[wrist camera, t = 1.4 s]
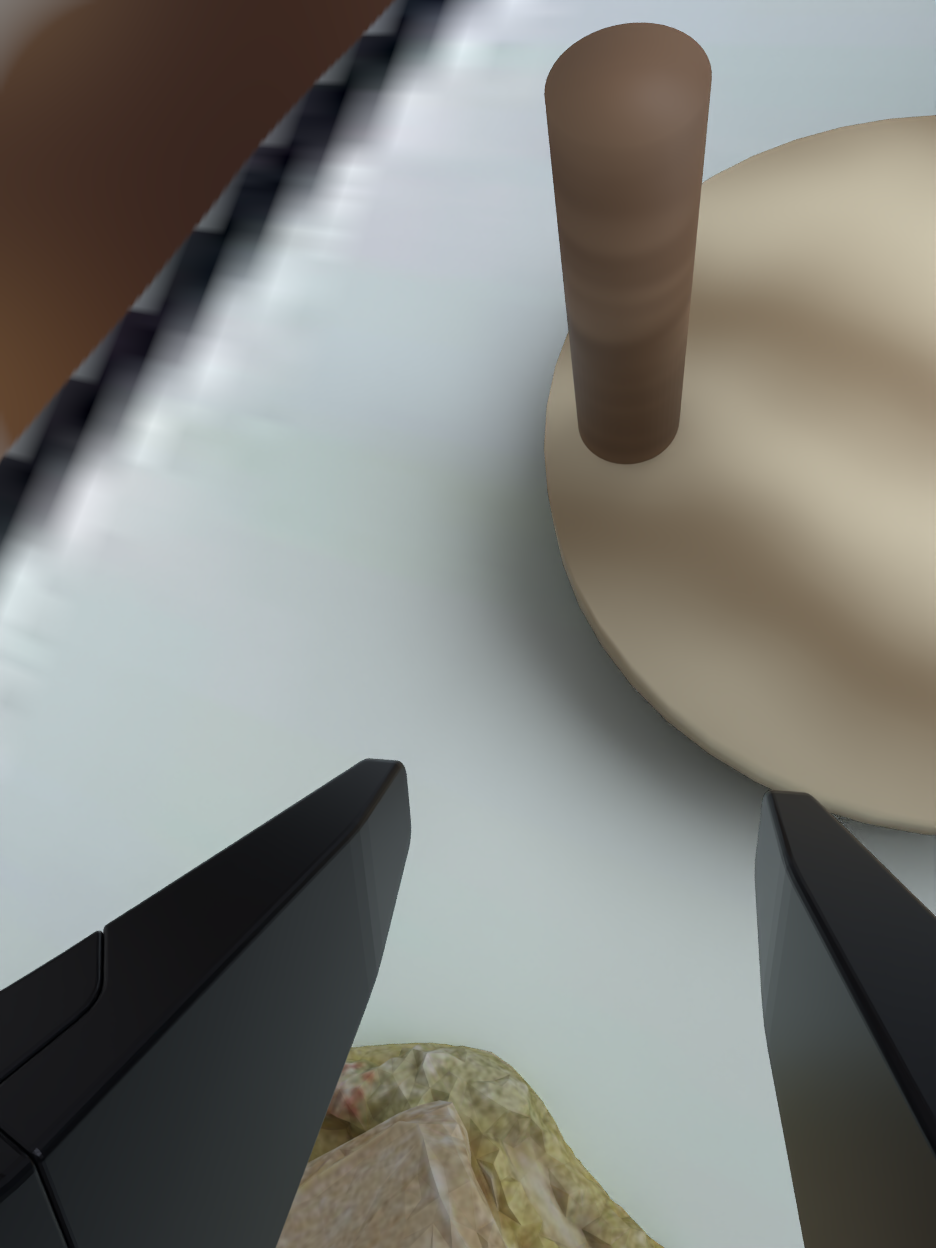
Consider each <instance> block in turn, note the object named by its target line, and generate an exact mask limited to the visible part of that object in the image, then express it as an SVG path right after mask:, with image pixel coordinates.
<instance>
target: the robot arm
mask: <svg viewBox="0 0 936 1248" xmlns="http://www.w3.org/2000/svg"><path fill="white" fill-rule="evenodd" d="M410 838H411V818H410V807H409V796H408V784H407V774H406V770H405V767H404V765H403V764H402V763H401V762H400V761H396V760H383V759H370V758H369V759H364V760H362V761H360V762H359V763H357V764H356V765H354V766H353V767H351V768H350V769H348V770H346V771H345V772H343V773H342V774H340V775H339V776H337V777H336V778H334V779H332V780H331V781H329V782H328V783H326V784H325V785H323V786H322V787H320V788H318V789H317V790H315V791H314V792H312V793H311V794H309V795H308V796H306V797H304V798H303V799H301V800H300V801H298V802H297V803H295V804H294V805H292V806H290V807H289V808H287V809H286V810H284V811H283V812H281V813H280V814H278V815H276V816H275V817H273V818H272V819H270V820H269V821H267V822H266V823H264V824H262V825H261V826H259V827H258V828H256V829H255V830H253V831H252V832H250V833H249V834H247V835H245V836H244V837H242V838H241V839H239V840H238V841H236V842H235V843H233V844H231V845H230V846H228V847H227V848H225V849H224V850H222V851H221V852H219V853H217V854H216V855H214V856H213V857H211V858H210V859H208V860H207V861H205V862H203V863H202V864H200V865H199V866H197V867H196V868H194V869H193V870H191V871H189V872H188V873H186V874H185V875H183V876H182V877H180V878H179V879H177V880H175V881H174V882H172V883H171V884H169V885H168V886H166V887H165V888H163V889H161V890H160V891H158V892H157V893H155V894H154V895H152V896H151V897H149V898H147V899H146V900H144V901H143V902H141V903H140V904H138V905H137V906H135V907H133V908H132V909H130V910H129V911H127V912H126V913H124V914H123V915H121V916H119V917H118V918H116V919H115V920H113V921H112V922H110V923H108V924H107V925H106V926H105V927H104V929H103V933H102V932H101V931H96V932H94V933H93V934H91V935H89V936H88V937H86V938H85V939H83V940H82V941H80V942H79V943H77V944H75V945H74V946H72V947H71V948H69V949H68V950H66V951H65V952H63V953H61V954H60V955H58V956H57V957H55V958H53V959H52V960H50V961H48V962H47V963H45V964H44V965H42V966H40V967H39V968H37V969H35V970H34V971H32V972H31V973H29V974H27V975H26V976H24V977H23V978H21V979H19V980H18V981H16V982H14V983H13V984H11V985H10V986H8V987H6V988H4V989H3V990H1V991H0V1248H276V1246H277V1243H278V1241H279V1238H280V1235H281V1233H282V1230H283V1227H284V1225H285V1222H286V1219H287V1217H288V1214H289V1211H290V1209H291V1206H292V1203H293V1201H294V1198H295V1195H296V1193H297V1190H298V1187H299V1185H300V1182H301V1179H302V1177H303V1174H304V1171H305V1169H306V1166H307V1163H308V1161H309V1158H310V1155H311V1153H312V1150H313V1147H314V1145H315V1142H316V1139H317V1137H318V1134H319V1131H320V1129H321V1126H322V1123H323V1121H324V1118H325V1115H326V1113H327V1110H328V1107H329V1105H330V1102H331V1099H332V1097H333V1094H334V1091H335V1089H336V1086H337V1083H338V1081H339V1078H340V1075H341V1073H342V1070H343V1067H344V1065H345V1062H346V1059H347V1057H348V1054H349V1051H350V1049H351V1046H352V1043H353V1041H354V1038H355V1035H356V1033H357V1030H358V1027H359V1025H360V1022H361V1019H362V1017H363V1014H364V1011H365V1009H366V1006H367V1003H368V1001H369V998H370V995H371V992H372V989H373V987H374V984H375V981H376V978H377V975H378V971H379V967H380V963H381V960H382V956H383V952H384V948H385V944H386V940H387V936H388V932H389V928H390V923H391V919H392V915H393V911H394V907H395V903H396V899H397V895H398V891H399V887H400V883H401V879H402V875H403V870H404V866H405V862H406V858H407V854H408V850H409V845H410ZM755 891H756V908H757V926H758V943H759V961H760V978H761V995H762V1008H763V1018H764V1027H765V1034H766V1040H767V1047H768V1053H769V1058H770V1064H771V1069H772V1074H773V1080H774V1085H775V1091H776V1096H777V1101H778V1107H779V1112H780V1117H781V1123H782V1128H783V1134H784V1139H785V1144H786V1150H787V1155H788V1160H789V1166H790V1171H791V1177H792V1182H793V1187H794V1193H795V1198H796V1203H797V1209H798V1214H799V1220H800V1225H801V1230H802V1236H803V1241H804V1246H805V1248H936V916H935V915H934V914H933V913H932V912H931V911H930V910H929V909H928V908H927V907H926V906H925V905H924V904H922V903H921V902H920V901H919V900H918V899H917V898H916V897H915V896H914V895H913V894H912V893H911V892H910V891H909V890H908V889H907V888H906V887H905V886H904V885H903V884H902V883H901V882H900V881H899V880H898V879H897V878H896V877H895V876H894V875H893V874H892V873H891V872H890V871H889V870H888V869H887V868H886V867H885V866H884V865H883V864H882V863H881V862H880V861H879V860H878V859H877V858H876V857H875V856H874V855H872V854H871V853H870V852H869V851H868V850H867V849H866V848H865V847H864V846H863V845H862V844H861V843H860V842H859V841H858V840H857V839H856V838H855V837H854V836H853V835H852V834H851V833H850V832H849V831H848V830H847V829H846V828H845V827H844V826H843V825H842V824H841V823H840V822H839V821H838V820H837V819H836V818H835V817H834V816H833V815H832V814H831V813H830V812H829V811H828V810H827V809H826V808H825V807H824V806H822V805H821V804H820V803H819V802H818V801H817V800H816V799H815V798H814V797H813V796H812V795H810V794H808V793H805V792H794V791H781V790H769V791H767V792H766V793H765V795H764V797H763V801H762V807H761V816H760V824H759V832H758V841H757V849H756V858H755Z"/></svg>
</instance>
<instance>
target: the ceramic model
mask: <svg viewBox="0 0 936 1248" xmlns="http://www.w3.org/2000/svg"><path fill="white" fill-rule="evenodd" d="M276 1248H664V1247H663V1246H661V1245H660V1244H658V1243H657V1242H655V1241H654V1240H653V1239H651V1238H650V1237H649V1236H648V1235H646V1233H645V1232H644V1231H643V1230H642V1228H641V1227H640V1226H639V1225H638V1224H637V1223H636V1222H635V1221H634V1220H633V1219H632V1218H631V1217H630V1216H629V1215H628V1214H627V1213H626V1212H625V1211H624V1209H623V1208H622V1207H621V1206H619V1205H617V1204H616V1203H615V1202H613V1201H612V1200H611V1199H610V1198H609V1196H608V1194H607V1193H606V1192H605V1191H604V1189H603V1188H602V1187H601V1185H600V1184H599V1183H598V1182H597V1181H596V1180H595V1178H594V1177H593V1176H592V1175H591V1174H590V1173H589V1172H588V1171H587V1170H586V1168H585V1167H584V1166H583V1165H582V1164H581V1162H580V1161H579V1160H578V1159H577V1158H576V1157H575V1155H574V1153H573V1151H572V1149H571V1148H570V1147H569V1146H568V1145H567V1144H566V1142H565V1141H564V1139H563V1137H562V1135H561V1133H560V1131H559V1129H558V1127H557V1125H556V1123H555V1121H554V1119H553V1118H552V1116H551V1115H550V1113H549V1112H548V1110H547V1109H546V1107H545V1105H544V1103H543V1102H542V1100H541V1099H540V1098H539V1097H538V1095H537V1094H536V1093H535V1092H534V1091H533V1089H532V1088H531V1087H530V1086H529V1085H528V1083H527V1082H526V1081H525V1080H524V1079H523V1078H522V1077H521V1076H520V1075H519V1074H518V1073H517V1072H516V1070H515V1069H514V1068H513V1067H512V1066H510V1065H509V1064H507V1063H506V1062H505V1061H503V1060H502V1059H500V1058H499V1057H498V1056H496V1055H495V1054H493V1053H492V1052H488V1051H484V1050H479V1049H474V1048H469V1047H465V1046H456V1047H455V1046H451V1045H447V1044H436V1043H409V1044H388V1045H376V1046H364V1047H353V1048H351V1049H350V1051H349V1054H348V1057H347V1059H346V1062H345V1065H344V1067H343V1070H342V1073H341V1075H340V1078H339V1081H338V1083H337V1086H336V1089H335V1091H334V1094H333V1097H332V1099H331V1102H330V1105H329V1107H328V1110H327V1113H326V1115H325V1118H324V1121H323V1123H322V1126H321V1129H320V1131H319V1134H318V1137H317V1139H316V1142H315V1145H314V1147H313V1150H312V1153H311V1155H310V1158H309V1161H308V1163H307V1166H306V1169H305V1171H304V1174H303V1177H302V1179H301V1182H300V1185H299V1187H298V1190H297V1193H296V1195H295V1198H294V1201H293V1203H292V1206H291V1209H290V1211H289V1214H288V1217H287V1219H286V1222H285V1225H284V1227H283V1230H282V1233H281V1235H280V1238H279V1241H278V1243H277V1246H276Z"/></svg>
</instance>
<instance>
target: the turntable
mask: <svg viewBox="0 0 936 1248" xmlns="http://www.w3.org/2000/svg"><path fill="white" fill-rule="evenodd" d="M711 80H712V71H711V66H710V62H709V59H708V57H707V55H706V53H705V52H704V50H703V48H702V47H701V46H700V45H699V44H698V43H697V42H696V41H695V40H694V39H692V38H691V37H690V36H688V35H687V34H685V33H683V32H681V31H679V30H677V29H674V28H671V27H668V26H665V25H660V24H654V23H627V24H620V25H615V26H611V27H608V28H604V29H601V30H599V31H596V32H594V33H592V34H590V35H588V36H586V37H584V38H582V39H581V40H579V41H577V42H576V43H574V44H573V45H572V46H571V47H569V48H568V49H567V50H566V51H565V52H564V53H563V54H562V55H561V56H560V57H559V58H558V60H557V61H556V62H555V63H554V65H553V67H552V68H551V70H550V72H549V75H548V77H547V80H546V84H545V93H544V95H545V105H546V114H547V124H548V134H549V144H550V154H551V164H552V174H553V183H554V193H555V203H556V213H557V223H558V233H559V242H560V252H561V262H562V272H563V282H564V292H565V302H566V311H567V321H568V334H567V336H566V339H565V342H564V344H563V347H562V350H561V352H560V355H559V358H558V360H557V363H556V366H555V370H554V375H553V379H552V384H551V389H550V393H549V398H548V403H547V409H546V425H545V440H544V455H545V467H546V478H547V490H548V496H549V502H550V507H551V513H552V518H553V523H554V528H555V532H556V536H557V541H558V545H559V549H560V553H561V558H562V562H563V566H564V568H565V571H566V574H567V576H568V579H569V581H570V584H571V586H572V589H573V591H574V594H575V596H576V599H577V601H578V604H579V607H580V608H581V610H582V612H583V614H584V615H585V617H586V619H587V621H588V622H589V624H590V626H591V628H592V629H593V631H594V633H595V635H596V637H597V638H598V640H599V642H600V644H601V645H602V647H603V648H604V650H605V651H606V652H607V654H608V655H609V656H610V658H611V659H612V660H613V662H614V663H615V664H616V665H617V667H618V668H619V669H620V671H621V672H622V673H623V675H624V676H625V677H626V679H627V680H628V681H629V683H630V684H631V685H632V686H633V687H634V688H635V689H636V690H637V691H638V692H639V693H640V694H641V695H642V696H643V697H644V698H645V699H646V700H647V701H648V702H649V703H650V704H651V705H652V706H653V707H654V708H655V709H656V710H657V711H658V712H659V713H660V714H661V715H662V716H663V717H664V719H665V720H666V721H668V722H669V723H670V724H671V725H673V726H674V727H675V728H677V729H678V730H679V731H680V732H682V733H683V734H684V735H685V736H687V737H688V738H689V739H691V740H692V741H693V742H694V743H696V744H697V745H698V746H699V747H701V748H702V749H703V750H705V751H706V752H707V753H708V754H710V755H712V756H713V757H715V758H717V759H718V760H720V761H722V762H723V763H725V764H727V765H728V766H730V767H732V768H733V769H735V770H737V771H738V772H740V773H742V774H743V775H745V776H747V777H748V778H750V779H752V780H753V781H755V782H757V783H759V784H761V785H763V786H766V787H768V788H770V789H772V790H781V791H794V792H805V793H808V794H810V795H812V796H813V797H814V798H815V799H816V800H817V801H818V802H819V803H820V804H821V805H822V806H824V807H825V808H826V809H827V810H828V811H829V812H830V813H833V814H836V815H840V816H843V817H846V818H849V819H852V820H856V821H859V822H862V823H865V824H871V825H876V826H881V827H887V828H892V829H898V830H903V831H908V832H914V833H919V834H925V835H936V115H933V116H920V117H908V118H895V119H886V120H880V121H874V122H868V123H863V124H857V125H851V126H845V127H840V128H836V129H833V130H829V131H826V132H822V133H818V134H815V135H811V136H807V137H804V138H800V139H796V140H793V141H791V142H788V143H786V144H783V145H780V146H778V147H775V148H773V149H770V150H767V151H765V152H762V153H759V154H757V155H754V156H752V157H750V158H748V159H746V160H744V161H742V162H740V163H738V164H736V165H734V166H732V167H730V168H728V169H726V170H724V171H722V172H720V173H718V174H716V175H714V176H712V177H711V178H709V179H708V180H706V181H705V182H703V183H702V176H703V165H704V154H705V144H706V133H707V122H708V112H709V101H710V91H711Z"/></svg>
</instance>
